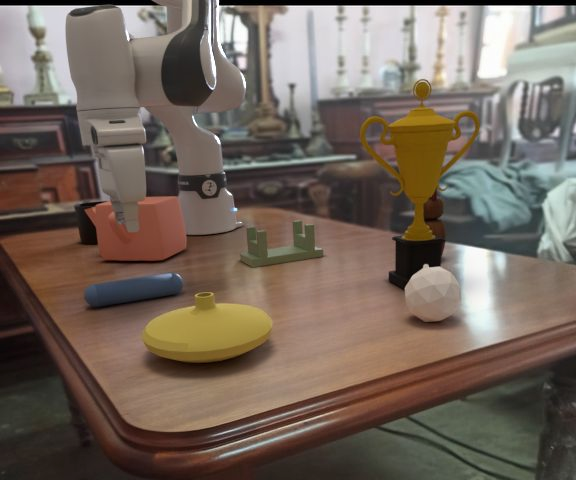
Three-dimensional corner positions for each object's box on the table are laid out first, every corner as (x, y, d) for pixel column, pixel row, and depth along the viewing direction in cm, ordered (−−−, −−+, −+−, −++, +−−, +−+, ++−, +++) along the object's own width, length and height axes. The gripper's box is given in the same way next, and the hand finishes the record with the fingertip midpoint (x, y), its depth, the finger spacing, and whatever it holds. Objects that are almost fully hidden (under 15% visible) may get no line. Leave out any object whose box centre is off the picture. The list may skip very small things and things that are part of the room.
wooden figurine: (445, 263, 105) (449, 177, 100) (412, 264, 106) (414, 178, 101) (443, 255, 111) (447, 173, 106) (412, 255, 113) (414, 174, 107)
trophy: (455, 269, 101) (464, 78, 90) (486, 282, 92) (501, 73, 81) (350, 282, 97) (347, 84, 86) (373, 298, 88) (373, 79, 77)
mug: (133, 239, 145) (127, 202, 142) (83, 246, 141) (76, 207, 138) (126, 234, 153) (121, 198, 150) (79, 240, 149) (72, 203, 146)
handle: (87, 311, 90) (83, 288, 89) (85, 305, 93) (81, 283, 92) (186, 295, 96) (184, 273, 94) (181, 290, 99) (178, 269, 97)
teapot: (198, 245, 134) (191, 182, 129) (152, 269, 114) (142, 196, 109) (121, 245, 139) (111, 185, 134) (65, 268, 120) (51, 198, 114)
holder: (240, 260, 117) (237, 227, 115) (308, 250, 122) (306, 218, 120) (252, 267, 111) (249, 233, 109) (323, 256, 116) (322, 223, 114)
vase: (180, 389, 62) (172, 326, 59) (124, 349, 74) (115, 295, 71) (300, 350, 70) (297, 293, 67) (232, 320, 82) (228, 271, 79)
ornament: (399, 327, 75) (387, 270, 78) (432, 332, 80) (420, 278, 83) (445, 308, 71) (431, 247, 73) (477, 315, 76) (463, 258, 78)
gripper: (82, 133, 93) (97, 222, 98) (98, 132, 75) (116, 239, 80) (122, 131, 95) (135, 217, 100) (147, 129, 78) (161, 233, 82)
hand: (127, 227), depth 90 cm, fingers open, 8 cm apart
